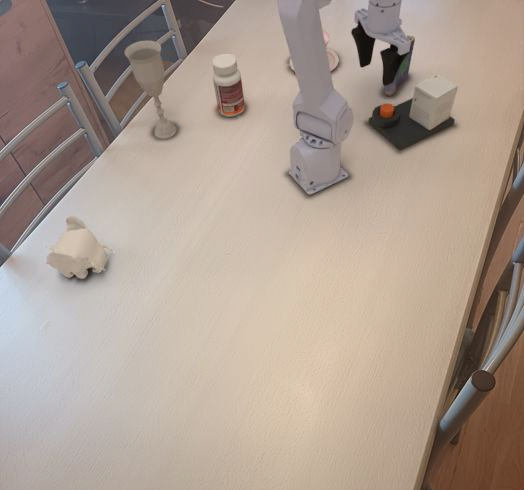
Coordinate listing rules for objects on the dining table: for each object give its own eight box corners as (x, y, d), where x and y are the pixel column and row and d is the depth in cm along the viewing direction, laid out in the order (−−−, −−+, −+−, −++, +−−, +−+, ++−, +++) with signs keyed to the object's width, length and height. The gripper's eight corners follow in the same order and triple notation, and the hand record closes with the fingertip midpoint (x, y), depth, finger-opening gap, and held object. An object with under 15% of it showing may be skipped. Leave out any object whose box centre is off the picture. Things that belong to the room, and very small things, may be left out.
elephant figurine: (107, 290, 91) (89, 258, 83) (48, 284, 93) (24, 252, 85) (124, 250, 95) (108, 216, 88) (67, 245, 97) (46, 211, 90)
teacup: (281, 58, 123) (279, 32, 118) (323, 43, 125) (324, 17, 120) (303, 83, 118) (303, 56, 112) (347, 67, 119) (349, 40, 114)
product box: (408, 117, 106) (414, 84, 100) (428, 105, 108) (436, 72, 101) (429, 131, 103) (437, 98, 97) (450, 118, 105) (459, 85, 99)
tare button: (384, 120, 105) (385, 113, 103) (376, 113, 106) (377, 106, 105) (395, 115, 105) (396, 108, 104) (387, 108, 106) (388, 101, 105)
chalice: (183, 121, 114) (164, 39, 99) (178, 141, 111) (157, 59, 95) (153, 121, 115) (128, 41, 99) (146, 141, 112) (120, 60, 96)
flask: (392, 98, 112) (399, 49, 103) (380, 94, 113) (386, 46, 104) (410, 76, 116) (418, 27, 107) (398, 73, 117) (406, 24, 108)
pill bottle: (250, 108, 115) (245, 58, 105) (230, 121, 113) (223, 72, 103) (232, 97, 117) (225, 48, 107) (212, 110, 115) (204, 61, 105)
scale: (398, 151, 103) (400, 139, 101) (366, 123, 109) (367, 110, 106) (453, 125, 106) (456, 112, 103) (419, 99, 111) (421, 86, 109)
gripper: (430, 8, 86) (415, 84, 97) (379, -24, 92) (371, 51, 104) (396, 22, 84) (385, 97, 96) (347, -12, 91) (342, 63, 103)
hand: (376, 74), depth 100 cm, fingers open, 7 cm apart
